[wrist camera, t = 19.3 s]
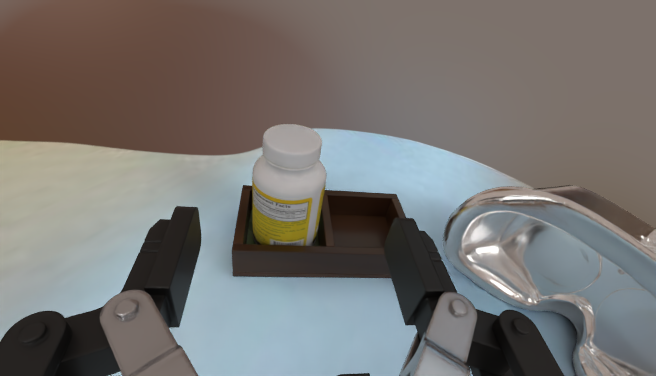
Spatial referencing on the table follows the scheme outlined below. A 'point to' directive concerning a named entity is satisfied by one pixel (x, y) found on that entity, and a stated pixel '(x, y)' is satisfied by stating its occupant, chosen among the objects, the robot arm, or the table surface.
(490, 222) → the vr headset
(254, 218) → the supplement bottle
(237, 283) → the table surface
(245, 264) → the divided box
